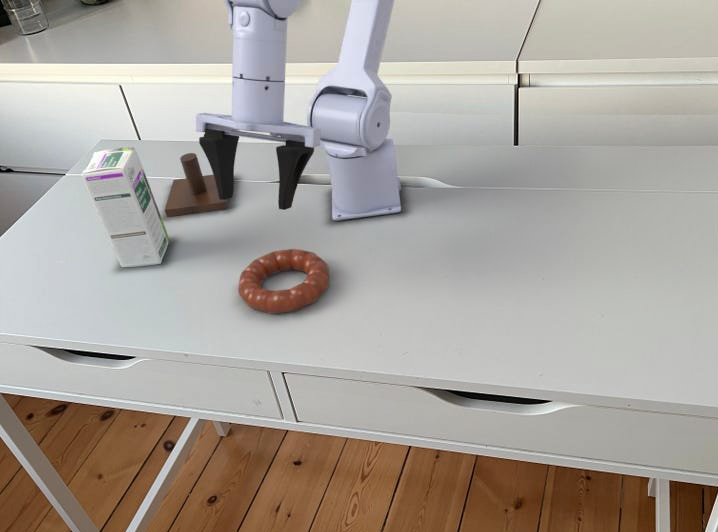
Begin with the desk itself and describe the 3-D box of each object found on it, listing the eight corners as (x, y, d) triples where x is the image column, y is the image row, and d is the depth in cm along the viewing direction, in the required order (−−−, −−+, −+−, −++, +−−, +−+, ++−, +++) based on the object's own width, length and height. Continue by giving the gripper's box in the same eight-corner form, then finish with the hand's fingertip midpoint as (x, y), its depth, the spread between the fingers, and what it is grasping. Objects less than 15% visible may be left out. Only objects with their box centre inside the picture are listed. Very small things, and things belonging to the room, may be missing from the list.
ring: (330, 257, 100) (327, 240, 98) (331, 310, 91) (327, 293, 90) (245, 268, 100) (240, 251, 98) (238, 322, 92) (232, 305, 90)
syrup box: (162, 264, 103) (126, 166, 94) (119, 268, 104) (79, 172, 94) (170, 241, 108) (137, 145, 98) (129, 245, 108) (92, 150, 98)
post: (232, 178, 119) (221, 138, 115) (227, 209, 112) (215, 167, 108) (175, 186, 119) (162, 146, 115) (166, 217, 113) (152, 176, 108)
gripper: (180, 72, 83) (181, 199, 88) (305, 87, 79) (298, 219, 84) (213, 71, 89) (212, 190, 94) (330, 85, 85) (323, 208, 90)
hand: (255, 203), depth 89 cm, fingers open, 7 cm apart
